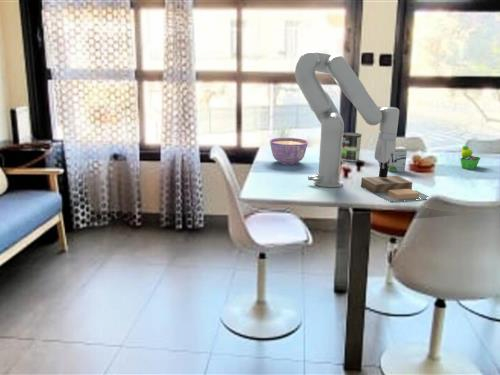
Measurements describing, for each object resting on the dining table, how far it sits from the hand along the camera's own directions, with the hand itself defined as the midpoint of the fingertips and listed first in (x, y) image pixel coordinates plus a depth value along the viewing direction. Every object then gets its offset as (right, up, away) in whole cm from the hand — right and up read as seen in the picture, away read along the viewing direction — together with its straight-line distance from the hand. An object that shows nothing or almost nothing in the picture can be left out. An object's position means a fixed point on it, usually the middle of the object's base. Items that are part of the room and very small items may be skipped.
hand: (382, 177), depth 230 cm
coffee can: (-4, +11, +56) cm, 57 cm away
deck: (+1, -5, -1) cm, 5 cm away
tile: (+5, -6, -14) cm, 16 cm away
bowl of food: (-39, +8, +44) cm, 59 cm away
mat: (+6, -8, -12) cm, 16 cm away
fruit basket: (+56, +6, +44) cm, 72 cm away
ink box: (+15, +4, +33) cm, 36 cm away
